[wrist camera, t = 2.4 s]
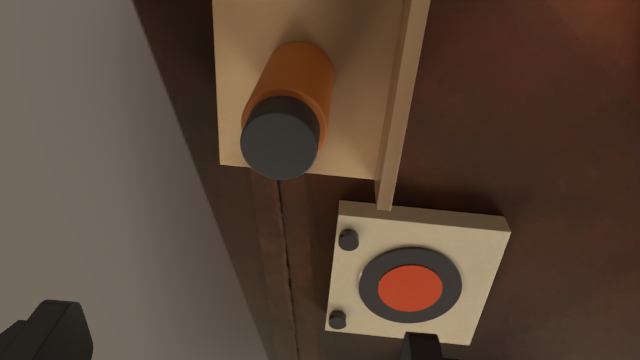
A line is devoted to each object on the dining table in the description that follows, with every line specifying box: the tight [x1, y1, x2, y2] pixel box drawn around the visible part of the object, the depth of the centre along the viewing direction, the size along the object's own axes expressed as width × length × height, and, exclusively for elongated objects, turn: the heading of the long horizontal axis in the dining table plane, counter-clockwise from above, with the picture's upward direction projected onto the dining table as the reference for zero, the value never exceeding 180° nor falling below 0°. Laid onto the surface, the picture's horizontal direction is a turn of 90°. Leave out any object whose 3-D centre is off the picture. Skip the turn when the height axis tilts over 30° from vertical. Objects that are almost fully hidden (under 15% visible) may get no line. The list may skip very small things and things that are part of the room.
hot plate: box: [325, 200, 511, 345], centre depth 40 cm, size 13×13×3 cm
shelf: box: [212, 0, 430, 211], centre depth 27 cm, size 10×12×10 cm
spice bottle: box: [240, 41, 334, 180], centre depth 22 cm, size 4×4×8 cm
